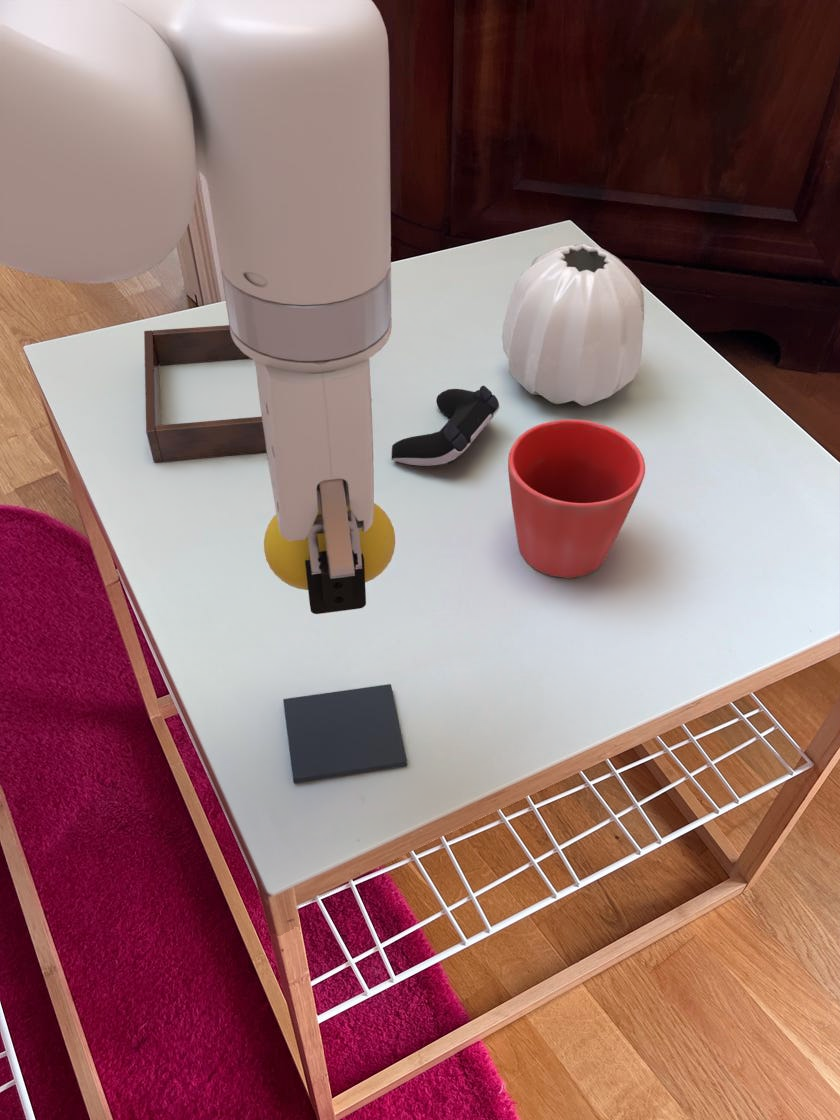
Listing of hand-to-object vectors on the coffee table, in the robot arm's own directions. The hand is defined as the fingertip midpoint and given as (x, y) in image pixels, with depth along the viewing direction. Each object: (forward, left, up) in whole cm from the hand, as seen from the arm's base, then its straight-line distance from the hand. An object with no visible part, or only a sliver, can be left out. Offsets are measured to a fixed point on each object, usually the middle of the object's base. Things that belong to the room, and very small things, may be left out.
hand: (331, 568), depth 59 cm
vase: (+28, +38, -17) cm, 50 cm away
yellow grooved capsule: (0, 0, 0) cm, 0 cm away
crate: (-4, +39, -17) cm, 43 cm away
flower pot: (+21, +15, -17) cm, 31 cm away
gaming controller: (+14, +30, -17) cm, 37 cm away
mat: (0, -1, -17) cm, 17 cm away
